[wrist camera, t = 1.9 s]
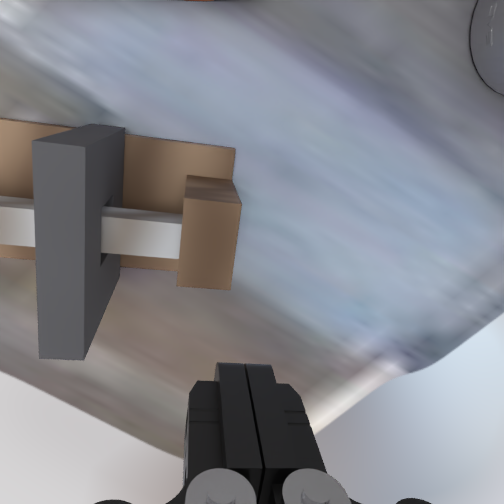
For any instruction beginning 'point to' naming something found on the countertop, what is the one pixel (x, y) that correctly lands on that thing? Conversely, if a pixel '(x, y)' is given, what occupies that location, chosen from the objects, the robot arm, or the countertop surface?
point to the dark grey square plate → (74, 234)
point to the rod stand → (139, 205)
